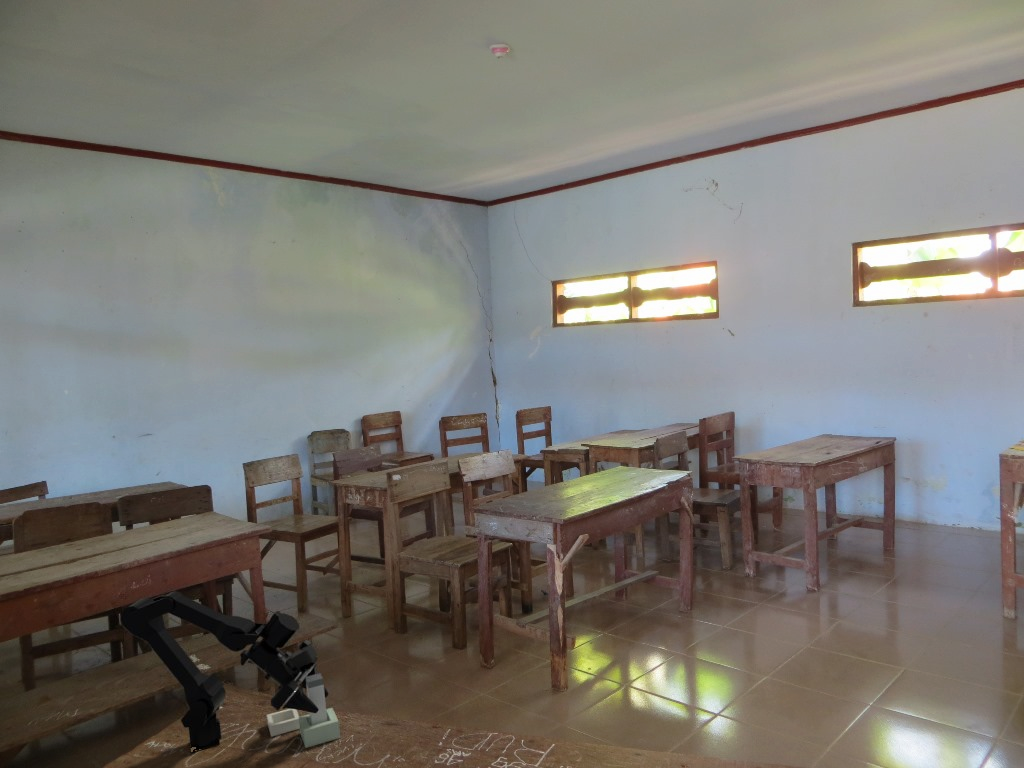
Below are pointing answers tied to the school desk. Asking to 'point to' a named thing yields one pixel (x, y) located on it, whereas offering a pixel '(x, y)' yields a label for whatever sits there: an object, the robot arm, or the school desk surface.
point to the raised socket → (319, 729)
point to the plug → (316, 698)
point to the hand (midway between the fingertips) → (322, 703)
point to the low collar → (283, 721)
